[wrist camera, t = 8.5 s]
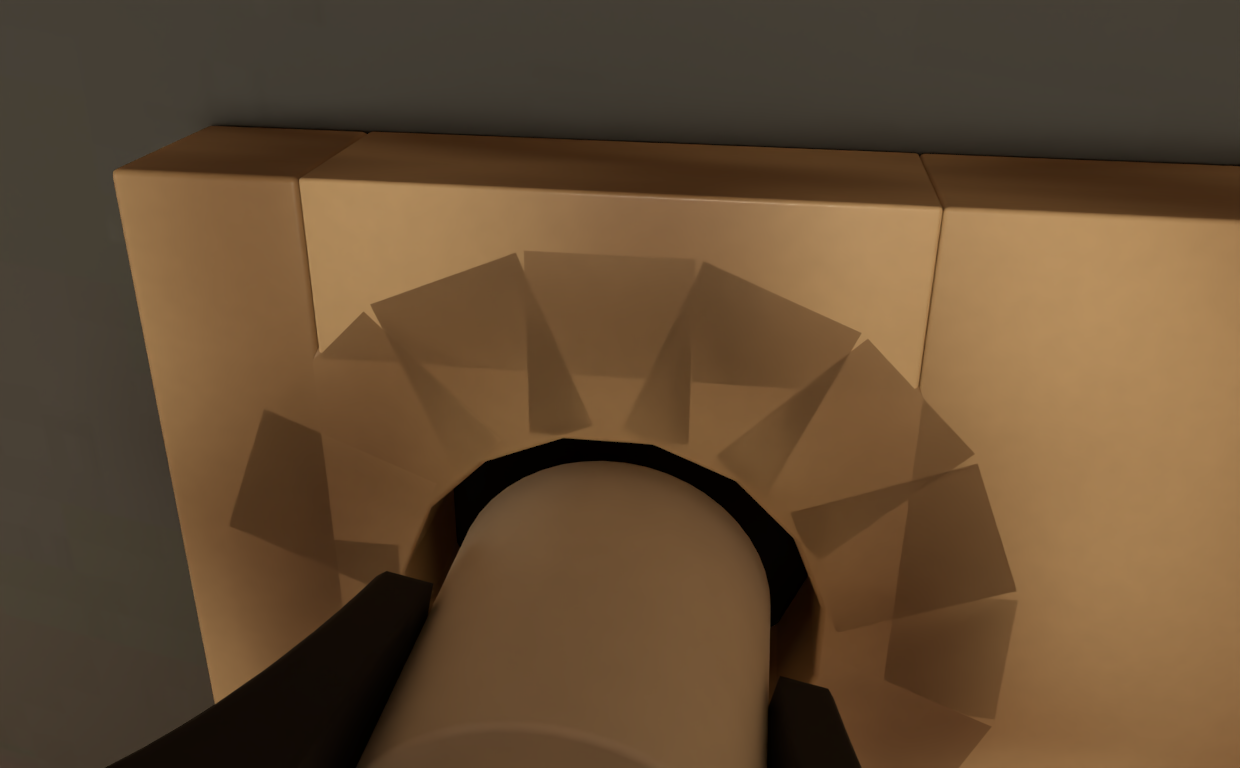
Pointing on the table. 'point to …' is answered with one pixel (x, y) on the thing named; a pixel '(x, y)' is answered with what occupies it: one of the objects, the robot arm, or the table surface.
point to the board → (734, 401)
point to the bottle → (590, 634)
